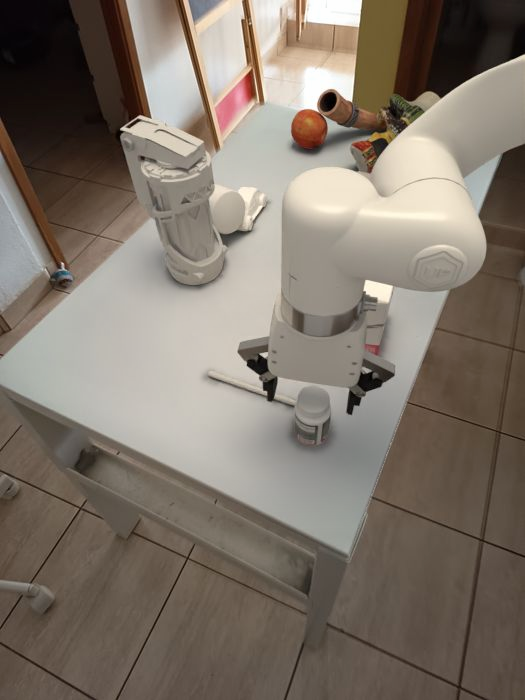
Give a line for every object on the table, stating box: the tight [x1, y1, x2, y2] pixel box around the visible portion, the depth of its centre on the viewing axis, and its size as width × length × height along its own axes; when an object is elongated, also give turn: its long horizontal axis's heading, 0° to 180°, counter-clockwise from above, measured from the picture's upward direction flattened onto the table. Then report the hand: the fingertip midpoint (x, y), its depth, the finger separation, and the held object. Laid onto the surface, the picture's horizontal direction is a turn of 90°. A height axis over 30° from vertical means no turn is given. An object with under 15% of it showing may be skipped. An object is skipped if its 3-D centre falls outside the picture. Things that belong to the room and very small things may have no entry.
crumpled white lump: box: [236, 186, 268, 232], centre depth 94 cm, size 12×6×5 cm, turn 163°
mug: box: [209, 183, 246, 235], centre depth 89 cm, size 12×8×10 cm
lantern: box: [119, 114, 229, 286], centre depth 77 cm, size 13×10×25 cm
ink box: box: [364, 280, 395, 356], centre depth 71 cm, size 9×5×12 cm, turn 161°
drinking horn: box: [316, 88, 387, 131], centre depth 109 cm, size 6×29×10 cm
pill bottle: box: [293, 385, 332, 447], centre depth 62 cm, size 5×5×8 cm
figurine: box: [349, 90, 442, 174], centre depth 103 cm, size 12×15×20 cm
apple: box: [290, 108, 329, 150], centre depth 108 cm, size 8×8×8 cm
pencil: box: [207, 370, 297, 407], centre depth 69 cm, size 1×1×15 cm
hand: (310, 398), depth 58 cm, fingers open, 9 cm apart
